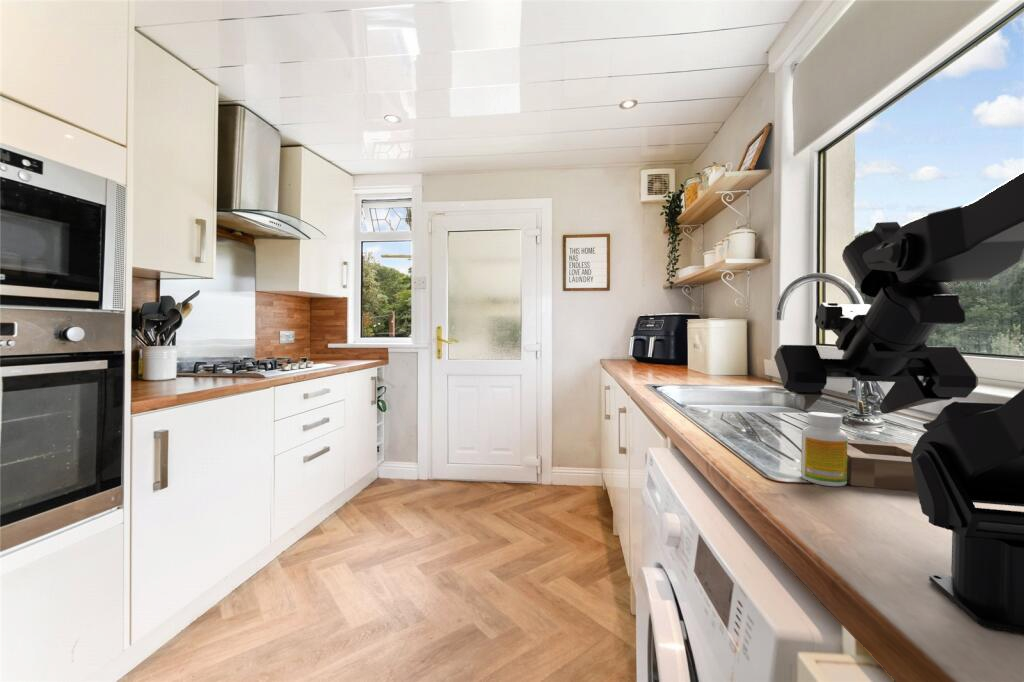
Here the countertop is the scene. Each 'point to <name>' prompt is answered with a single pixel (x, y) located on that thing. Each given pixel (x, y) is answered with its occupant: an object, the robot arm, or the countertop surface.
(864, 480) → the walnut collar
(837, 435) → the supplement bottle
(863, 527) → the countertop surface
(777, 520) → the countertop surface
